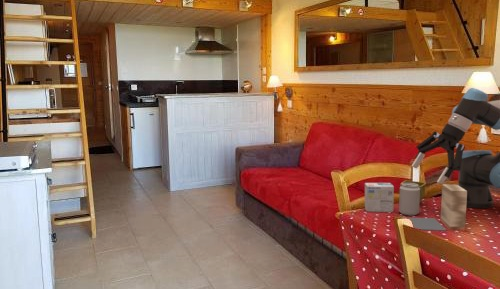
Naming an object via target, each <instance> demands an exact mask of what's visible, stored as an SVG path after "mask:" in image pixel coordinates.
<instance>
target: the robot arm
mask: <svg viewBox="0 0 500 289" xmlns="http://www.w3.org/2000/svg"><path fill="white" fill-rule="evenodd" d="M488 98H489V94H487V93H486V92H484V91H482V90H480V89H477V88H474V87H470V88H468V89H467V91H466V92H465V93H464V94H463V96H462V97H461V100H460V101H459V102H458V104H457V105H456V106H454V107H453V108H452V110H451V116H449V119H448V120H447V122H448V123H446V124H445V125H444V126H443V128H442V130H441V133H439V132H437V131H433V132H432V133H431V135H430V136H428V137H427V138H426V139H424V140H423V141H422V142H420V143H419V144H417V146H416V149H417V151H418V152H417V154H416V155H415V158H414V160H413V163H412V164H411V167H413V168H414V169H416V170H417V169H418V167H419V165H420V164H421V163H422V161H423V159H424V158H425V156H426V153H427V152H431V151H432V150H435V149H437V148H441V149H443V150H445V151H446V153H447V163H448V164H447V165H448V166H446V167H445V168H444V169H443V171H442V173H441V174H440V176H439V178H438V179H437V180H436V182H437V183H438V184H441V185H442V184H445V181H446V179H448V178H450V177H451V176H452V174H453V172H454V171H457V172H458V181H457V182H458V183H457V185H458V186H460V187H462V188H463V189H465V190H466V191H467V203H466V208H471V209H490V208H493V207H494V199H493V195H492V191H491V188H490V187H491V186H493V187H495V188H499V189H500V151H499V152H497V153H496V154H494V155H493V153H492V150H490V149H488V150H487V149H476V150H475V149H474V150H471V149H470V150H465V148H466V145H464V144H462V143H460V141H462V139H463V138H464V137H465V135H466V132H467V131H468V130H469V129H470V127H471V125H479V126H487V127H488V128H490V129H492V130H495V131H499V130H500V99H499V100H498V99H497V100H491V101H488Z"/></svg>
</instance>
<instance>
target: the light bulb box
mask: <svg viewBox="0 0 500 289" xmlns="http://www.w3.org/2000/svg"><path fill="white" fill-rule="evenodd" d="M394 188H395V187H394V185H393V184H392V183H391V182H364V209H365V210H366V212H367V213H368V212H370V213H393V212H394V196H395V194H394V192H395V189H394Z"/></svg>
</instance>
